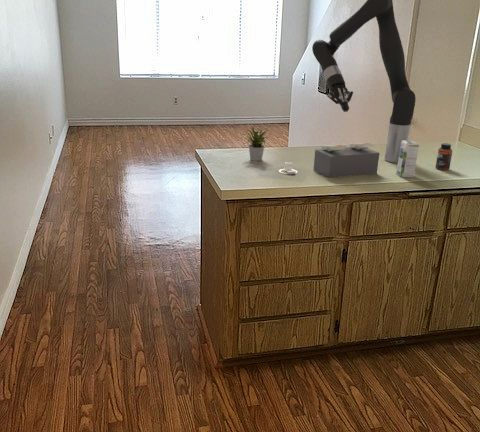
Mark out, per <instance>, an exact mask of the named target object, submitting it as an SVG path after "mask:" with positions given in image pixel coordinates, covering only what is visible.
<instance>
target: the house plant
mask: <svg viewBox="0 0 480 432" xmlns="http://www.w3.org/2000/svg"><path fill="white" fill-rule="evenodd" d="M260 124H261V123H259V124H258V126H257V130H256V131H255V128H254V126H253V125H252V124H250V128H251V130H250V129H249V128H247V126H246V125H243V124H242V126H244V127H245V128H246V130H245V132H246V133H247V134H248V135H249V136H245V139H246V140H247V143H250V144H249V145H248V149H249V159H250V160H251V161H254V162H260V161H262V159H263V156H264V151H265V145H264V144H265V143H266V141H269V139H268V138H270V137H267V136H265V135H266V133H267V132H268V131H269V130H271V129H272V127H269V128H268V129H266V130H265V131H263V127H260ZM259 128H260V129H259ZM262 131H263V132H262Z"/></svg>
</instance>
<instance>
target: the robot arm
mask: <svg viewBox="0 0 480 432" xmlns="http://www.w3.org/2000/svg"><path fill="white" fill-rule="evenodd" d="M394 11H395V10H394V2H393V0H366V1H365V2H364V3H363V4H362V5H361V6H360V8H359V9H358V10H356V12H354V13H353V14H352V15H351V16H350V17H349V18H347V19H346V20H345V21H343V22H341V24H340V25H339V26H337V27H336V28H334V29H333V30H332V31H331V32H330V33H329V41H328V42H327V41H325V40H323V39H317V40H314V42H313V44H312V46H311V47H312V48H311V49H312V50H311V51H312V53H313V56H314V57H315V59H316V61H317V63H318V64H319V65H320V68H321V70H322V73H323V76H324V80H325V83H326V86H327V88H328V90H329V92H328V93H327V94H326V95H327V98H328V99H330V100H331V101H332V102H333V103H335V104H336V105H339V106H340V108H341V110H342V111H343V112H344V113H345V112H346V113H348V111H349V110H350V106H349V103H350V101H352V98H353V94H354V92H353V91H352V90H351V91H349V90H348V88H347V86H346V81H345V79H344V76H343V74H342V70H340V68H339V65H338V63H337V60H336V58H334V55H335V53H336V52H337V51H338V50H339V48H340V46H341V45H342V44H344V43H345V42H346V41H347V40H349V39H350V38H351V37H352V36H353V35H355V33H356V32H357V31H359V30H360V28H362V27H363V26H364V25H365V24H367V23H368V22H369V21H371V20H373V19H375V18H376V22H377V25H378V42H379V49H380V54H381V59H382V62H383V65H384V68H385V69H384V70H385V72H386V74H387V78H388V80H389V85H390V86H389V87H390V94H391V102H392V104H393V106H392V111H391V116H390V117H389V122H388V123H389V125H388V130H387V131H388V132H387V137H386V144H385V153H384V160H385V161H386V162H390V163H395V164H398V160H399V154H400V148H401V142H402V141H404V140H409V136H410V129H411V124H412V119H413V117H414V112H415V107H416V100H417V99H416V95H415V92H414V91H413V90H412V89H411V88H410V85H409V82H408V80H407V75H406V60H405V58H406V57H405V52H404V47H403V44H402V43H403V42H402V40H401V36H400V33H399V30H398V27H397V23H396V19H395V17H396V16H395V13H394Z"/></svg>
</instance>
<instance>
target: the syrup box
mask: <svg viewBox="0 0 480 432" xmlns="http://www.w3.org/2000/svg"><path fill="white" fill-rule="evenodd" d="M419 147H420V144H419V143H418V142H416V141H415V140H409V139H408V140H404V141H402V142H401V148H400V154H399V160H398V163H397V166H396V167H397V168H396V175H398V176H399V177H400V178H414V176H415V171H416V167H417V166H416V165H417V160H418V153H419Z"/></svg>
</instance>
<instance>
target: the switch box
mask: <svg viewBox="0 0 480 432" xmlns="http://www.w3.org/2000/svg"><path fill="white" fill-rule="evenodd" d="M379 158H380V152H378V151H376V150H373V149H370V148H369V147H368V148H367V149H356V148H350V146H347V147H346V149H340V150H339V151H327V149H322V148H318V149H316V148H315V151H314V160H313V171H315V172H316V173H318V174H320V175H322V176H324V177H325V178H328V179H331V178H334V179H335V178H342V177H343V178H344V177H354V176H361V175H362V176H363V175H375V174H377V173H378V169H379V168H378V167H379V160H380V159H379Z"/></svg>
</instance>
